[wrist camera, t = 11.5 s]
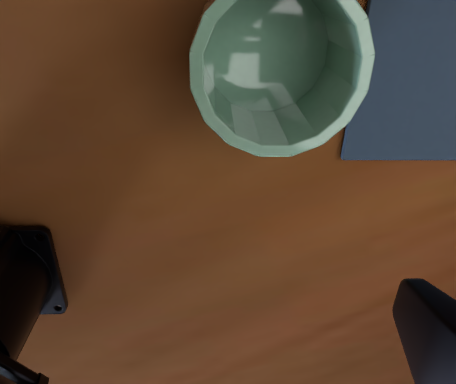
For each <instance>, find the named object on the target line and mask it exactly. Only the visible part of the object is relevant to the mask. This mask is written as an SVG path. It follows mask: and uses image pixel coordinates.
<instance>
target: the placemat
mask: <svg viewBox="0 0 456 384" xmlns="http://www.w3.org/2000/svg"><path fill="white" fill-rule="evenodd" d="M366 14H367V16H368V18H369V23H370V28H371V33H372V38H373V44H374V49H375V54H374V55H375V60H374V65H373V70H372V75H371V80H370V85H369V90H368V93H367V94H366V96H365V98H364V99H363V101H362V103H361V104H360V106H359V108H358V109H357V111H356V113H355V114H354V116H353V118H352V119H351V121H350V122H349V123H348V124H347V125H346V129H345V135H344V140H343V146H342V152H341V158H342V160H456V0H368V3H367V9H366Z"/></svg>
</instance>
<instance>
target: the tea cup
mask: <svg viewBox="0 0 456 384" xmlns="http://www.w3.org/2000/svg"><path fill="white" fill-rule="evenodd" d="M374 54H375V49H374V44H373V38H372V33H371V28H370V23H369V18H368V16H367V14H366V13H365V11H364V10H363V8H362V7H361V6H360V4H359V3H358V1H357V0H209V1H208V2H207V3H206V4H205V6H204V8H203V11H202V13H201V16H200V18H199V21H198V24H197V27H196V29H195V32H194V35H193V39H192V43H191V47H190V52H189V67H190V89H191V93H192V95H193V97H194V100H195V102H196V104H197V106H198V109H199V111H200V113H201V115H202V118H203V120H204V121H205V123H206V124H207V125H208V126H209V127H210V128H211V129H212V130H213V131H215V132H216V133H217V134H218V135H219V136H220V137H221V138H222V139H223V140H224V141H225V142H226V143H227V144H229V145H230V146H233V147H236V148H238V149H241V150H243V151H246V152H248V153H251V154H253V155H256V156H260V157H290V156H294V155H296V154H299V153H302V152H305V151H307V150H310V149H313V148H316V147H318V146H321V145H322V144H324V143H325V142H327V141H328V140H329V139H330V138H332V137H333V136H334V135H335V134H336V133H338V132H339V131H340V130H341V129H342V128H344V127H345V126H346V125H347V124H348V123H349V122H350V121H351V119H352V118H353V116H354V114H355V113H356V111H357V109H358V108H359V106H360V104H361V103H362V101H363V99H364V98H365V96H366V94H367V93H368V90H369V85H370V80H371V75H372V70H373V65H374V60H375V55H374Z"/></svg>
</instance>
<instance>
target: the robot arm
mask: <svg viewBox="0 0 456 384" xmlns="http://www.w3.org/2000/svg"><path fill="white" fill-rule="evenodd" d="M38 234H42V235H43V236H44V237H41V236H39V235H38ZM57 305H59V306H57ZM60 306H61V307H60ZM67 307H68V302H67V298H66V293H65V289H64V285H63V281H62V277H61V273H60V268H59V264H58V260H57V256H56V252H55V248H54V243H53V239H52V235H51V232H50V230H49V229H47V228H46V227H42V226H5V225H0V384H48V382H49V378H48V377H46V376H45V375H43V374H41V373H38V374H37V373H36V372H34V371H32V370H31V369H29V368H27V367H25V366H24V365H22V364H20V363H19V362H17V361H16V360H17V358H18V356H19V354H20V352H21V350H22V348H23V346H24V344H25V342H26V340H27V338H28V336H29V334H30V332H31V330H32V328H33V326H34V324H35V322H36V320H37V318H38V316H39V314H62V313H64V312H65V311H66V309H67ZM393 317H394V320H395V324H396V327H397V330H398V333H399V336H400V339H401V342H402V345H403V348H404V352H405V355H406V358H407V361H408V364H409V367H410V370H411V373H412V376H413V379H414V382H415V384H456V300H455V299H453V298H452V297H450V296H449V295H447V294H446V293H444V292H442V291H441V290H439V289H438V288H436V287H435V286H433V285H432V284H430V283H429V282H427V281H425V280H424V279H419V278H415V279H403V280H402V281H401V283H400V285H399V288H398V292H397V295H396V298H395V301H394V305H393Z"/></svg>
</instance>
